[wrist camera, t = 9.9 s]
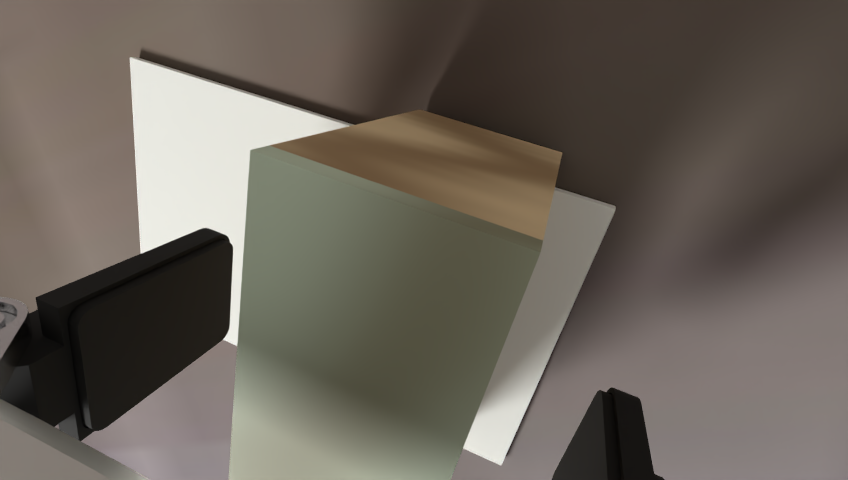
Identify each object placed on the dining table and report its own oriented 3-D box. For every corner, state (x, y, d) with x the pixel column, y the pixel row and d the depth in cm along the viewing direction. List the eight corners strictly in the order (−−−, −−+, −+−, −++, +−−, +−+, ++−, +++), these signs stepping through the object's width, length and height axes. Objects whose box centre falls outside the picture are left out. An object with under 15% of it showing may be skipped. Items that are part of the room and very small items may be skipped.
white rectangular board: (615, 206, 12) (616, 209, 11) (502, 459, 16) (501, 465, 16) (137, 57, 15) (129, 57, 15) (149, 300, 19) (143, 303, 19)
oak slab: (562, 152, 11) (541, 252, 5) (459, 424, 15) (378, 660, 9) (420, 109, 12) (250, 149, 6) (358, 378, 16) (222, 568, 10)
